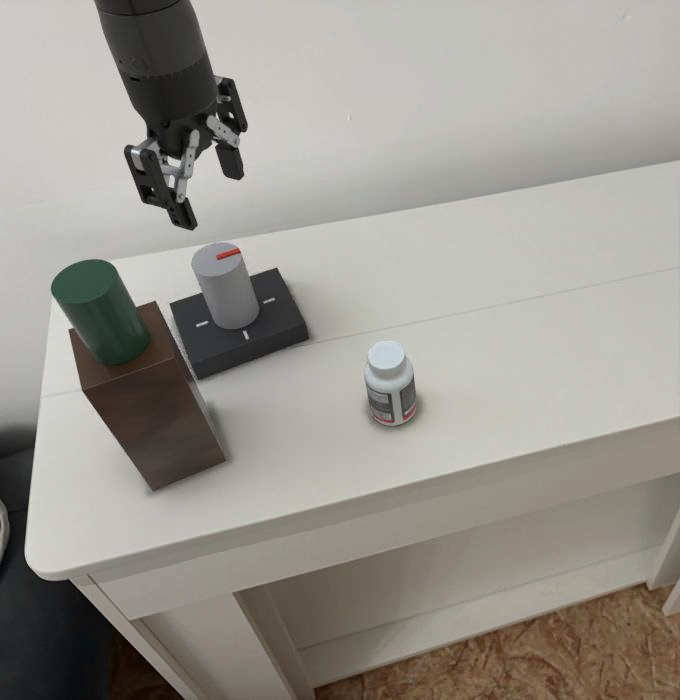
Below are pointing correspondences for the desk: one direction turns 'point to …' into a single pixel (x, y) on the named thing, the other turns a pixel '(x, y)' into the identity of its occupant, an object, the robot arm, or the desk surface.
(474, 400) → the desk surface
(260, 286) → the dark grey panel
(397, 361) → the pill bottle
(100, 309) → the tea tin
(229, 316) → the grey round cylinder
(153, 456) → the stand
